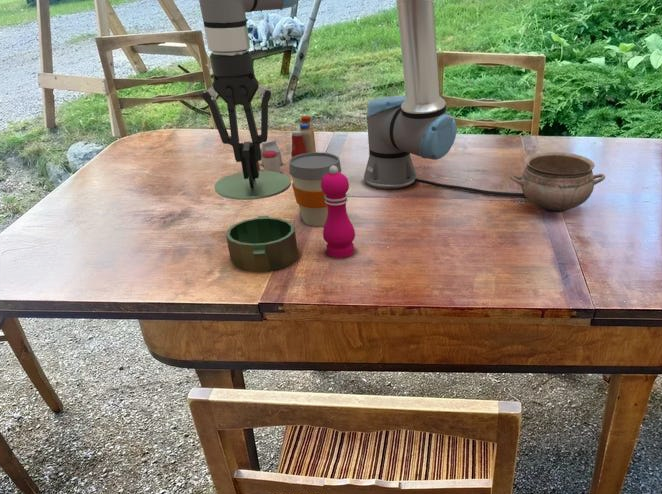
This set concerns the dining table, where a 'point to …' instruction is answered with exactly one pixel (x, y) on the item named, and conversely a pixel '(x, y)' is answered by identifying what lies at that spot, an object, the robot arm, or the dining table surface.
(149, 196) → the dining table surface
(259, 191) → the lid
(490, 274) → the dining table surface
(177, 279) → the dining table surface
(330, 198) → the pepper mill
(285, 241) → the pot
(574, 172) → the cooking pot
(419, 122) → the robot arm
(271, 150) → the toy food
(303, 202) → the reusable coffee cup
